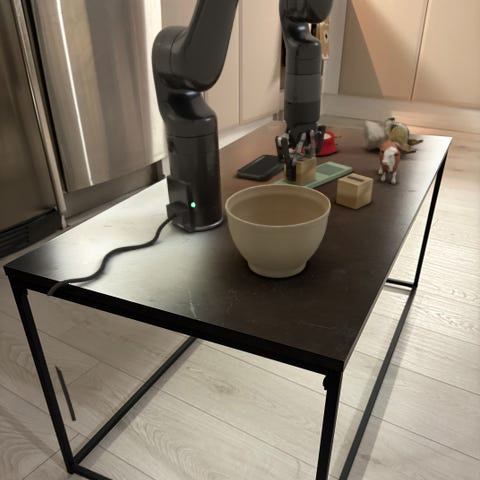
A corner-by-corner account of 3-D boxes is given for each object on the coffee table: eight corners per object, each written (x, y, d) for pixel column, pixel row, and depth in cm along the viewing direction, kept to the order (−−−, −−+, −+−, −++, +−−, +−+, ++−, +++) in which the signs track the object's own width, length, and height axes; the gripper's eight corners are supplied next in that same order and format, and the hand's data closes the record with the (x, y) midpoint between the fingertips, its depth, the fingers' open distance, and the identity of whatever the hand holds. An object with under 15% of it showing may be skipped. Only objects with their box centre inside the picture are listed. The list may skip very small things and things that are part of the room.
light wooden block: (300, 185, 110) (301, 162, 107) (283, 180, 113) (284, 157, 110) (315, 179, 113) (316, 156, 110) (298, 174, 116) (299, 151, 113)
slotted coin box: (355, 209, 101) (358, 184, 98) (335, 202, 104) (338, 178, 101) (370, 202, 104) (373, 177, 101) (350, 196, 107) (353, 172, 104)
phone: (234, 172, 118) (264, 153, 129) (235, 176, 119) (264, 158, 129) (264, 176, 115) (292, 157, 125) (264, 181, 115) (292, 162, 126)
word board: (295, 195, 108) (295, 190, 108) (272, 187, 113) (272, 182, 112) (352, 171, 119) (352, 167, 119) (329, 165, 124) (329, 161, 123)
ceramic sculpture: (371, 108, 133) (429, 117, 127) (365, 141, 138) (421, 151, 132) (359, 118, 125) (421, 128, 120) (354, 153, 130) (412, 163, 125)
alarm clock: (338, 143, 126) (281, 126, 127) (331, 167, 130) (276, 150, 131) (344, 132, 134) (290, 116, 136) (336, 155, 138) (285, 139, 139)
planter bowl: (208, 266, 84) (203, 204, 78) (273, 234, 93) (274, 177, 87) (280, 302, 74) (281, 235, 68) (345, 263, 83) (352, 200, 77)
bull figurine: (375, 188, 110) (380, 151, 105) (377, 168, 121) (381, 133, 116) (396, 189, 109) (402, 151, 105) (396, 169, 120) (401, 134, 115)
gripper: (311, 88, 109) (307, 166, 119) (264, 100, 101) (264, 182, 111) (339, 92, 104) (333, 173, 114) (292, 105, 96) (290, 190, 106)
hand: (299, 177), depth 112 cm, fingers closed on light wooden block, 5 cm apart
